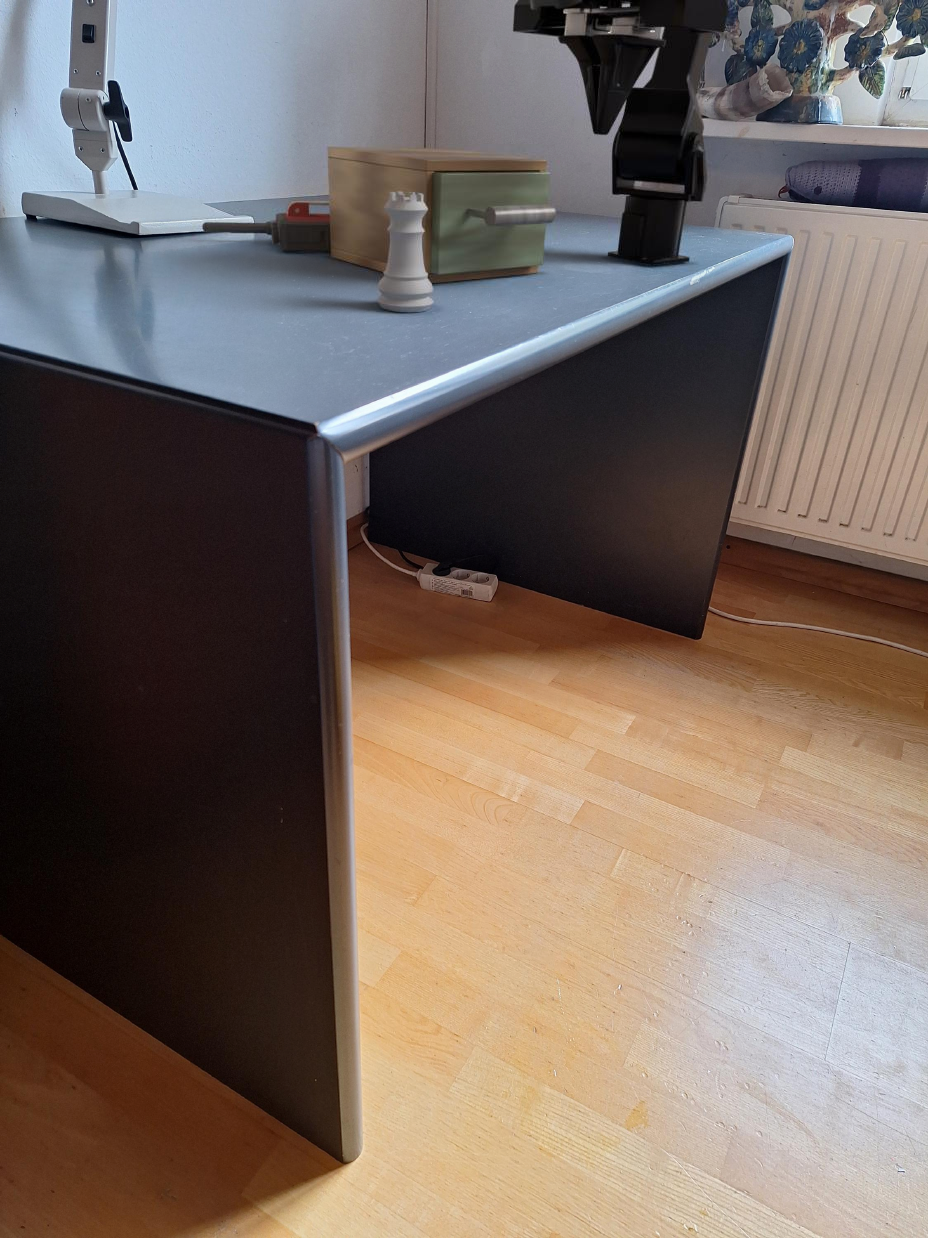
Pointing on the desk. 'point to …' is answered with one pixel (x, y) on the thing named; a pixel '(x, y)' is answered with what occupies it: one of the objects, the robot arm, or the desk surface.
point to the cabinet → (377, 171)
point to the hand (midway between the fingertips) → (600, 134)
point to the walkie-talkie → (288, 228)
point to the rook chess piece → (405, 257)
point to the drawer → (488, 220)
